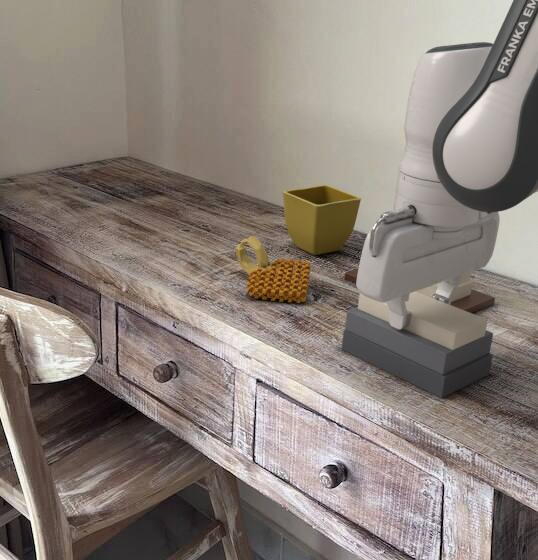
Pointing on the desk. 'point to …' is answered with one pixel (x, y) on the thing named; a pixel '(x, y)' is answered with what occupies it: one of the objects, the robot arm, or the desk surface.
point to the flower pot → (320, 217)
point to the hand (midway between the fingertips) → (419, 318)
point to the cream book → (433, 320)
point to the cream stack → (461, 299)
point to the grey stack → (416, 354)
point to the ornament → (273, 274)
